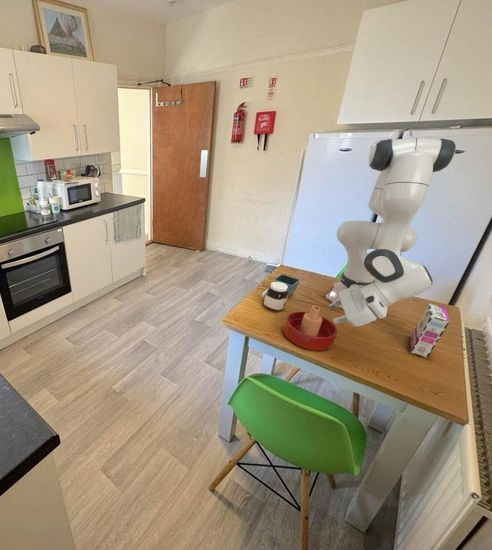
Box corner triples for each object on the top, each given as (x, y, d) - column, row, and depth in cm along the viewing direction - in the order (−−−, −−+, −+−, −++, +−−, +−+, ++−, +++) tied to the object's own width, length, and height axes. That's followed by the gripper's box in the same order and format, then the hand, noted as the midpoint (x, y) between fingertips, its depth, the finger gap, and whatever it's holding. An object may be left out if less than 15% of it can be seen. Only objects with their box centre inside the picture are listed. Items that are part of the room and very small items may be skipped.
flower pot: (278, 289, 152) (281, 273, 148) (296, 295, 146) (300, 279, 142) (270, 295, 147) (273, 279, 143) (288, 302, 141) (292, 285, 137)
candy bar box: (428, 359, 106) (450, 322, 98) (410, 353, 109) (430, 316, 101) (426, 342, 113) (447, 307, 106) (409, 337, 116) (428, 302, 109)
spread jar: (276, 314, 132) (281, 292, 127) (253, 303, 140) (257, 282, 135) (289, 305, 138) (295, 283, 133) (267, 295, 147) (272, 274, 141)
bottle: (300, 328, 122) (308, 301, 116) (317, 334, 118) (327, 306, 112) (296, 336, 118) (305, 308, 111) (314, 342, 114) (324, 314, 108)
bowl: (289, 319, 129) (292, 306, 126) (335, 334, 119) (340, 321, 116) (277, 339, 117) (281, 326, 114) (328, 358, 108) (333, 344, 105)
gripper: (360, 277, 111) (322, 294, 119) (375, 305, 94) (330, 323, 102) (370, 289, 111) (332, 306, 119) (387, 320, 95) (341, 336, 103)
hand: (331, 314), depth 111 cm, fingers open, 8 cm apart
